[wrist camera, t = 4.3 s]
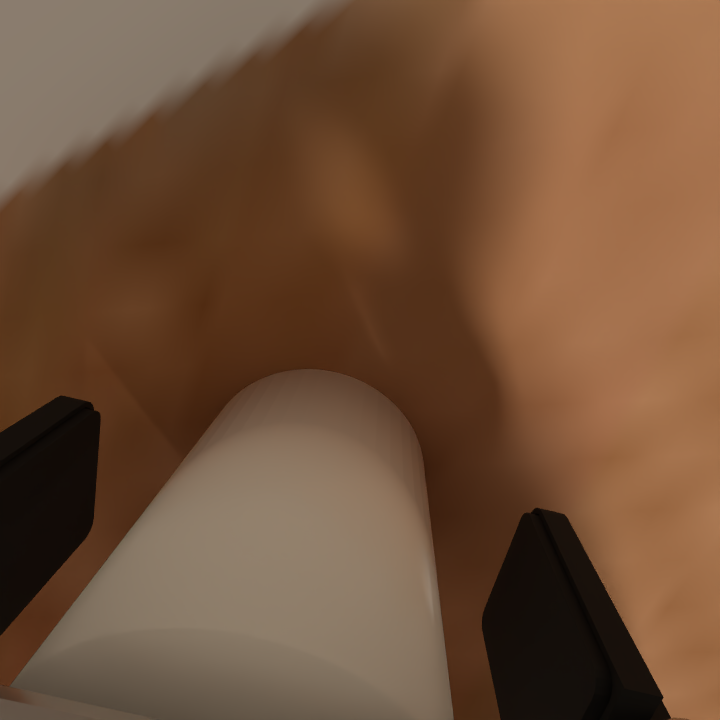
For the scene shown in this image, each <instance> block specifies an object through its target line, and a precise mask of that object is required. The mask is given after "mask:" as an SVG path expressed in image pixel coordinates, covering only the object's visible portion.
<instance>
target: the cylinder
mask: <svg viewBox="0 0 720 720" xmlns="http://www.w3.org/2000/svg"><path fill="white" fill-rule="evenodd" d="M9 687H13V688H17V689H22V690H27V691H31V692H36V693H40V694H45V695H49V696H54V697H59V698H63V699H68V700H72V701H77V702H82V703H86V704H91V705H95V706H100V707H104V708H109V709H114V710H118V711H123V712H127V713H132V714H136V715H141V716H145V717H150V718H154V719H159V720H454V716H453V708H452V699H451V691H450V683H449V674H448V666H447V657H446V649H445V640H444V632H443V623H442V615H441V606H440V598H439V589H438V581H437V572H436V564H435V555H434V547H433V538H432V530H431V522H430V513H429V505H428V496H427V488H426V479H425V471H424V462H423V456H422V452H421V447H420V444H419V442H418V439H417V436H416V434H415V432H414V430H413V428H412V427H411V425H410V423H409V421H408V420H407V419H406V417H405V416H404V415H403V413H402V412H401V411H400V410H399V408H398V407H397V406H396V405H395V404H394V403H393V402H392V401H391V400H390V399H388V398H387V397H386V396H385V395H383V394H382V393H381V392H379V391H378V390H376V389H375V388H373V387H371V386H370V385H368V384H366V383H364V382H362V381H360V380H358V379H356V378H353V377H351V376H347V375H344V374H341V373H338V372H332V371H326V370H318V369H299V370H289V371H284V372H279V373H276V374H273V375H270V376H267V377H264V378H262V379H260V380H258V381H256V382H254V383H252V384H250V385H248V386H247V387H246V388H244V389H243V390H241V391H240V392H239V393H237V394H236V395H235V396H234V397H233V398H232V399H231V400H230V401H229V402H228V403H227V404H226V406H225V407H224V408H223V409H222V411H221V412H220V413H219V415H218V416H217V417H216V418H215V420H214V421H213V422H212V424H211V425H210V426H209V428H208V429H207V430H206V431H205V433H204V434H203V435H202V437H201V438H200V439H199V441H198V442H197V443H196V444H195V446H194V447H193V448H192V450H191V451H190V452H189V454H188V455H187V456H186V457H185V459H184V460H183V461H182V463H181V464H180V465H179V467H178V468H177V469H176V470H175V472H174V473H173V474H172V476H171V477H170V478H169V480H168V481H167V482H166V483H165V485H164V486H163V487H162V489H161V490H160V491H159V492H158V494H157V495H156V496H155V498H154V499H153V500H152V502H151V503H150V504H149V505H148V507H147V508H146V509H145V511H144V512H143V513H142V515H141V516H140V517H139V518H138V520H137V521H136V522H135V524H134V525H133V526H132V528H131V529H130V530H129V531H128V533H127V534H126V535H125V537H124V538H123V539H122V541H121V542H120V543H119V544H118V546H117V547H116V548H115V550H114V551H113V552H112V554H111V555H110V556H109V557H108V559H107V560H106V561H105V563H104V564H103V565H102V567H101V568H100V569H99V570H98V572H97V573H96V574H95V576H94V577H93V578H92V580H91V581H90V582H89V583H88V585H87V586H86V587H85V589H84V590H83V591H82V593H81V594H80V595H79V596H78V598H77V599H76V600H75V602H74V603H73V604H72V606H71V607H70V608H69V609H68V611H67V612H66V613H65V615H64V616H63V617H62V619H61V620H60V621H59V622H58V624H57V625H56V626H55V628H54V629H53V630H52V632H51V633H50V634H49V635H48V637H47V638H46V639H45V641H44V642H43V643H42V645H41V646H40V647H39V648H38V650H37V651H36V652H35V654H34V655H33V656H32V658H31V659H30V660H29V661H28V663H27V664H26V665H25V667H24V668H23V669H22V671H21V672H20V673H19V674H18V676H17V677H16V678H15V680H14V681H13V682H12V684H11V685H10V686H9Z"/></svg>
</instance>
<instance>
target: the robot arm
mask: <svg viewBox="0 0 720 720" xmlns="http://www.w3.org/2000/svg"><path fill="white" fill-rule="evenodd" d="M100 420H101V419H100V413H99V412H98V411H94V407H93V404H92V403H91V402H87V401H83V400H79V399H74V398H70V397H66V396H59V397H57V398H55V399H54V400H52V401H50V402H49V403H47V404H46V405H44V406H42V407H41V408H39V409H38V410H36V411H34V412H33V413H31V414H30V415H28V416H26V417H25V418H23V419H22V420H20V421H18V422H17V423H15V424H14V425H12V426H10V427H9V428H7V429H5V430H4V431H2V432H1V433H0V635H1V634H2V633H3V632H4V631H5V630H6V629H7V627H8V626H9V625H10V624H11V623H12V622H13V621H14V619H15V618H16V617H17V616H18V615H19V614H20V613H21V611H22V610H23V609H24V608H25V607H26V606H27V605H28V603H29V602H30V601H31V600H32V599H33V598H34V597H35V595H36V594H37V593H38V592H39V591H40V590H41V589H42V587H43V586H44V585H45V584H46V583H47V582H48V581H49V579H50V578H51V577H52V576H53V575H54V574H55V573H56V572H57V570H58V569H59V568H60V567H61V566H62V565H63V564H64V562H65V561H66V560H67V559H68V558H69V557H70V556H71V554H72V553H73V552H74V551H75V550H76V549H77V548H78V546H79V545H80V544H81V543H82V542H83V541H84V540H85V538H86V537H87V535H88V534H89V532H90V530H91V527H92V524H93V519H94V506H95V492H96V477H97V463H98V449H99V434H100ZM482 631H483V636H484V641H485V645H486V650H487V655H488V660H489V665H490V670H491V674H492V679H493V684H494V689H495V694H496V699H497V703H498V708H499V713H500V718H501V720H689V719H683V718H671V717H670V715H669V713H668V711H667V709H666V708H665V706H664V704H663V702H662V699H663V696H662V694H661V692H660V690H659V688H658V686H657V684H656V682H655V681H654V679H653V677H652V675H651V673H650V671H649V669H648V668H647V666H646V664H645V662H644V660H643V658H642V656H641V654H640V653H639V651H638V649H637V647H636V645H635V643H634V641H633V640H632V638H631V636H630V634H629V632H628V630H627V628H626V626H625V625H624V623H623V621H622V619H621V617H620V615H619V613H618V612H617V610H616V608H615V606H614V604H613V602H612V600H611V598H610V597H609V595H608V593H607V591H606V589H605V587H604V585H603V584H602V582H601V580H600V578H599V576H598V574H597V572H596V571H595V569H594V567H593V565H592V563H591V561H590V559H589V557H588V556H587V554H586V552H585V550H584V548H583V546H582V544H581V543H580V541H579V539H578V537H577V535H576V533H575V531H574V529H573V528H572V526H571V524H570V522H569V520H568V518H567V517H566V516H565V515H564V514H561V513H557V512H553V511H548V510H544V509H540V508H536V509H534V510H533V511H532V512H531V514H530V513H524V515H523V516H522V518H521V520H520V522H519V525H518V527H517V530H516V532H515V535H514V537H513V540H512V542H511V545H510V547H509V550H508V552H507V555H506V557H505V560H504V562H503V564H502V567H501V569H500V572H499V574H498V577H497V579H496V582H495V584H494V587H493V589H492V592H491V594H490V597H489V599H488V602H487V604H486V607H485V609H484V612H483V617H482ZM0 720H159V719H154V718H150V717H145V716H141V715H136V714H132V713H127V712H123V711H118V710H114V709H109V708H104V707H100V706H95V705H91V704H86V703H82V702H77V701H72V700H68V699H63V698H59V697H54V696H49V695H45V694H40V693H36V692H31V691H27V690H22V689H17V688H13V687H8V686H4V685H0Z"/></svg>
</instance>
